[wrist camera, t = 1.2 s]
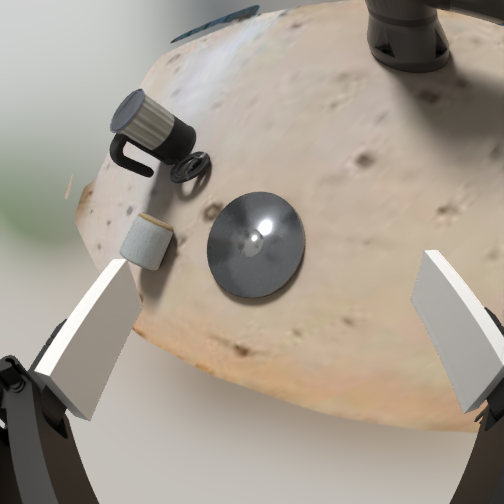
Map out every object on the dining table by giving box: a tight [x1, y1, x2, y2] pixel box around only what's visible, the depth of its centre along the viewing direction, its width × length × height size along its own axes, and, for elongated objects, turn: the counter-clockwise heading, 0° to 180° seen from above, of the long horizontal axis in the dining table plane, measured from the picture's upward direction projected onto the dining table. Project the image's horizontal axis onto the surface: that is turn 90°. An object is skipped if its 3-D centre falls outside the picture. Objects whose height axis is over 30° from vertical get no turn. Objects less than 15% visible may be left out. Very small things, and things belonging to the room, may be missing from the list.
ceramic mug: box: [120, 213, 173, 270], centre depth 47 cm, size 11×8×8 cm
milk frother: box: [110, 89, 210, 183], centre depth 45 cm, size 14×16×15 cm
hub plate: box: [207, 192, 305, 298], centre depth 40 cm, size 15×15×1 cm
